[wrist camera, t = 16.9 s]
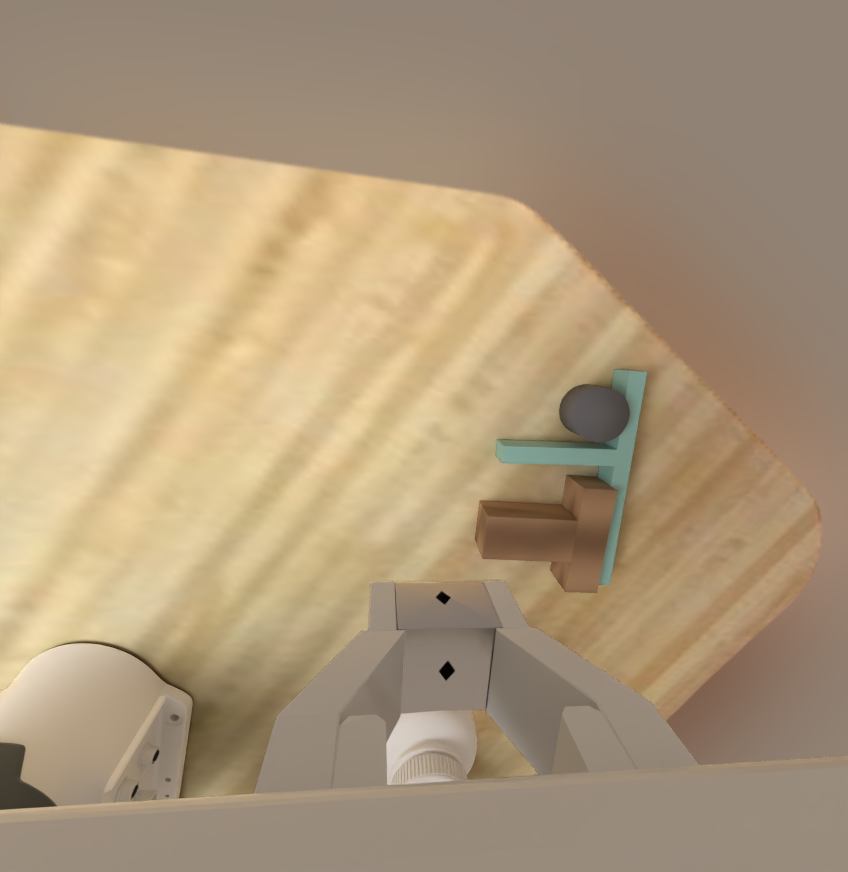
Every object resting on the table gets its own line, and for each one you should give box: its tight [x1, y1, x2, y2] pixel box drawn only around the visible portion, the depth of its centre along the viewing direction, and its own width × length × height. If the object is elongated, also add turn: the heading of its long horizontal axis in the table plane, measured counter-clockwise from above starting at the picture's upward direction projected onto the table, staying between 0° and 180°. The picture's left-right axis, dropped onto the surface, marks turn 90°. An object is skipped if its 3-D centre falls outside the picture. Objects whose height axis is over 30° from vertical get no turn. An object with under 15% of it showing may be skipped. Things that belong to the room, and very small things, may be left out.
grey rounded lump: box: [559, 384, 630, 443], centre depth 34 cm, size 4×4×4 cm
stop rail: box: [496, 369, 647, 585], centre depth 35 cm, size 20×12×2 cm, turn 177°
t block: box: [475, 475, 618, 593], centre depth 36 cm, size 10×11×4 cm
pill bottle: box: [386, 710, 477, 785], centre depth 32 cm, size 8×8×15 cm
